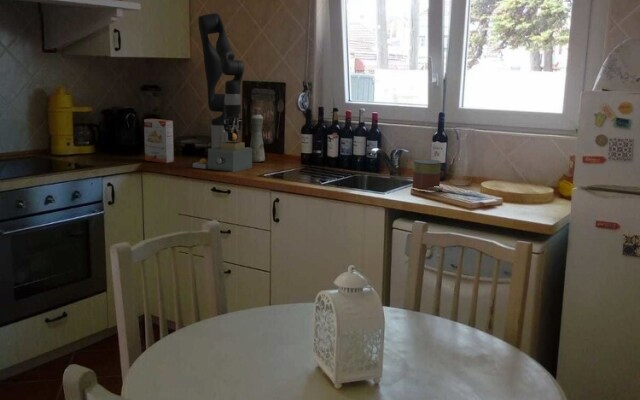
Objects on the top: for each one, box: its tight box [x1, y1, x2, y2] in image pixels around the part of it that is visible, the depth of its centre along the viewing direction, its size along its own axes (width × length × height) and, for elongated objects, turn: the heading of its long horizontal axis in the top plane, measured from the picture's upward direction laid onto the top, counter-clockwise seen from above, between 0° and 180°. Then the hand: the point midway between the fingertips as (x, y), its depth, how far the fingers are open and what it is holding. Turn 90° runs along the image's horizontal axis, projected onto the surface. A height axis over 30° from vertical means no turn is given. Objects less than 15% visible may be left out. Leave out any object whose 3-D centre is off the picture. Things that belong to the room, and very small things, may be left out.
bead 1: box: [198, 158, 208, 164], centre depth 314 cm, size 4×4×4 cm
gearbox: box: [207, 141, 253, 174], centre depth 311 cm, size 18×14×12 cm
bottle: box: [249, 106, 266, 163], centre depth 337 cm, size 9×9×28 cm
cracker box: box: [143, 118, 175, 164], centre depth 329 cm, size 14×6×21 cm, turn 62°
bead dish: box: [192, 161, 208, 170], centre depth 314 cm, size 7×7×2 cm
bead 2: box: [232, 132, 238, 142], centre depth 312 cm, size 4×4×4 cm
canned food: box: [411, 158, 442, 189], centre depth 275 cm, size 11×11×12 cm
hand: (232, 140), depth 312 cm, fingers closed on bead 2, 3 cm apart
